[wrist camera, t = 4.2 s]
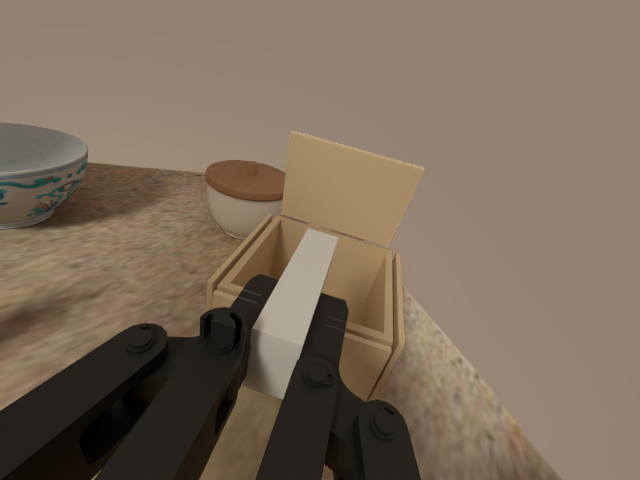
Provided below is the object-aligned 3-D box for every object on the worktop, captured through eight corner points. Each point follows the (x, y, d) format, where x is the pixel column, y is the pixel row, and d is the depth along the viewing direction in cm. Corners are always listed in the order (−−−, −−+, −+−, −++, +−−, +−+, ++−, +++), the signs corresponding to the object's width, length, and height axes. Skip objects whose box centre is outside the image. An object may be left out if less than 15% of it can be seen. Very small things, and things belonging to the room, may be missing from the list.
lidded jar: (299, 236, 42) (313, 174, 38) (236, 260, 35) (243, 185, 30) (252, 204, 48) (259, 146, 43) (188, 219, 40) (187, 149, 35)
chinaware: (-48, 275, 25) (-91, 189, 21) (-132, 208, 29) (-181, 126, 25) (126, 217, 37) (119, 157, 33) (50, 176, 41) (36, 118, 37)
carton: (197, 362, 23) (199, 289, 19) (261, 268, 34) (271, 211, 31) (368, 422, 22) (405, 356, 18) (376, 305, 33) (400, 250, 30)
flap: (281, 214, 30) (290, 132, 24) (282, 211, 30) (292, 130, 24) (388, 246, 29) (424, 170, 23) (389, 243, 29) (424, 167, 24)
